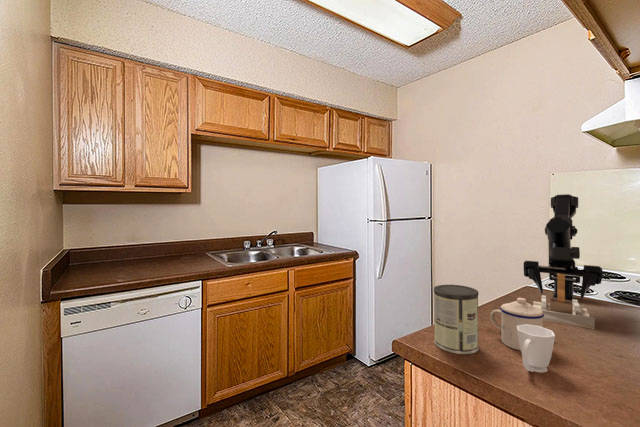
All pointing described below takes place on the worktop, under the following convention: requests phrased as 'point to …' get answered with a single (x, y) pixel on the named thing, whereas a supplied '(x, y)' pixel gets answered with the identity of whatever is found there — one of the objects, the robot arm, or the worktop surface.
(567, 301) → the tan wooden block
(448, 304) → the coffee can
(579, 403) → the worktop surface
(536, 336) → the cup
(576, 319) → the lane tray
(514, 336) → the teacup with lid
